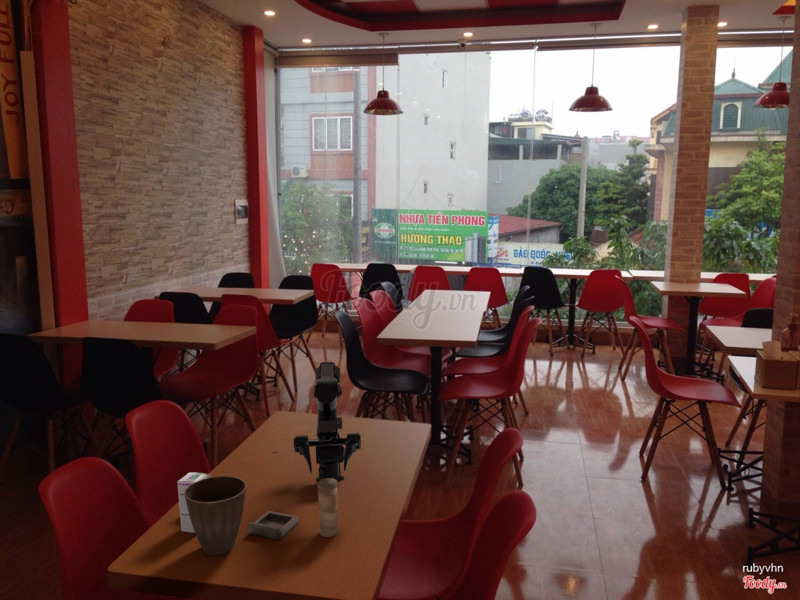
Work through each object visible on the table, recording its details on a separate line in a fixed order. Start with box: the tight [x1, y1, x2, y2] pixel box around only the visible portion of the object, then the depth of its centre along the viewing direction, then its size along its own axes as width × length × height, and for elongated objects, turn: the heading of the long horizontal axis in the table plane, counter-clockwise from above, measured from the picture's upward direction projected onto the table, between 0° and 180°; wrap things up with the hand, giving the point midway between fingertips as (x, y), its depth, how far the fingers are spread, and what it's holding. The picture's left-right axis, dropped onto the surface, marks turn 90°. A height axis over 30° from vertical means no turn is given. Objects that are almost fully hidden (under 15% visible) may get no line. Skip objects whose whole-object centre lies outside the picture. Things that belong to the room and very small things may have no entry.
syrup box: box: [177, 472, 208, 534], centre depth 168 cm, size 6×6×14 cm
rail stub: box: [317, 478, 339, 538], centre depth 165 cm, size 5×5×14 cm
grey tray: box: [247, 510, 299, 541], centre depth 168 cm, size 10×10×3 cm
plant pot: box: [184, 475, 247, 556], centre depth 158 cm, size 15×15×16 cm
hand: (327, 471), depth 172 cm, fingers open, 9 cm apart
